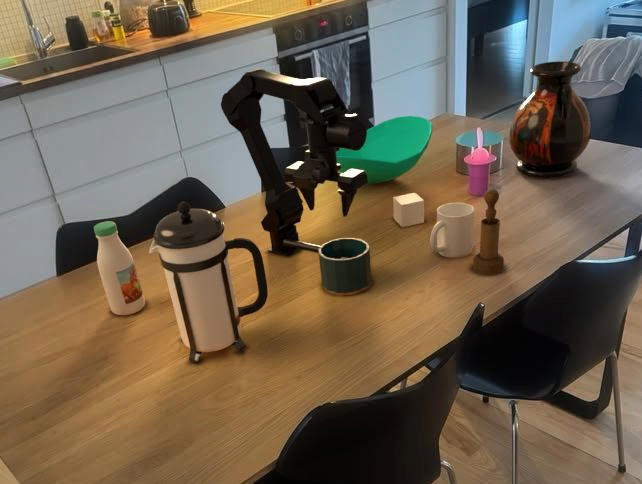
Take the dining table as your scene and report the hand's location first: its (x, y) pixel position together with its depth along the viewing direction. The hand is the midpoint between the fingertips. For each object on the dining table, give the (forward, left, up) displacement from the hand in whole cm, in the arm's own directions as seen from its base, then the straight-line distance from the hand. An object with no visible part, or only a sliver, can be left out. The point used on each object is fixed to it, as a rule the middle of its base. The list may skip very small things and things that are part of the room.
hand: (328, 212), depth 153 cm
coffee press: (-2, -38, -13) cm, 40 cm away
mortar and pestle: (+33, +13, -13) cm, 38 cm away
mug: (+22, +16, -13) cm, 30 cm away
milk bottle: (-31, -37, -13) cm, 50 cm away
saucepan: (+3, -6, -13) cm, 15 cm away
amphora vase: (+23, +75, -13) cm, 80 cm away
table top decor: (-20, +52, -13) cm, 57 cm away
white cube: (+4, +29, -13) cm, 32 cm away
